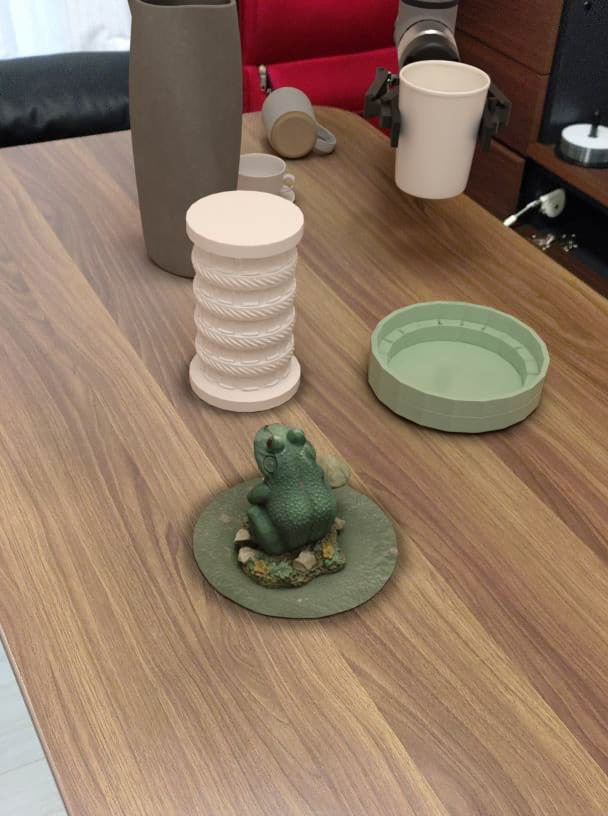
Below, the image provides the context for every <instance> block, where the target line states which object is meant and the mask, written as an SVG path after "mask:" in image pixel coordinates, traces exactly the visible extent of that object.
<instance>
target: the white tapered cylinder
mask: <svg viewBox="0 0 608 816" xmlns="http://www.w3.org/2000/svg"><path fill="white" fill-rule="evenodd" d="M486 73H487V72H485V71H483V70H482V69H480V68H478V67H476V66H473V65H470V64H467V63H463V62H461V63H458V62H452V61H442V60H429V61H420V62H415V63H411V64H409V65H406V66H405V67H403V68H402V69H401V71H400V73H399V102H398V107H399V111H400V121H401V124H400V133H399V142H398V148H395V164H394V181H395V185H396V186H397V187H398V188H399V189H400V190H401V191H402V192H404V193H406V194H408V195H411V196H413V197H416V198H420V199H425V200H426V199H427V200H447V199H452V198H454V197H457V196H459V195H461V194H462V193H463V192H464V191H465V189H466V187H467V185H468V180H469V177H470V172H471V168H472V163H473V159H474V155H475V151H476V146H477V141H478V138H479V137H478V133H479V128H480V124H481V119H482V115H483V110H484V106H485V101H486V97H487V93H488V89H489V86H490V78H489V76H488V75H487V74H488V73H487V74H486Z"/></svg>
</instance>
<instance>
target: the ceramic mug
mask: <svg viewBox="0 0 608 816" xmlns="http://www.w3.org/2000/svg"><path fill="white" fill-rule="evenodd" d="M260 114H261V115H260V117H261V122H262V125H263V128H264V130H265V134H266V135H267V139H268V142H269V144H270V146H271V147H272V148H273V150H274V151H275V152H276V153H278V154H279V155H280V156H282V157H284V158H287V159H297V158H301V157H304V156H305V155H307V154H308V153H309V152H311V151H312V149H315V150H317V151H319V152H322V153H326V154H328V153H329V154H330V153H331V152H333V150H334V148H335V146H336V145H337V139H336V137H335V136H334V134H333V133H331V132H330V131H329V130H328V129H327V128H325V126H322V125H321V124H320V123H318V122H317V119H316V117H315V112H314V109H313V105H312V103H311V101H310V99H309V97H308V96H307V95H306V93H304V92H303V91H302V90H300V89H298V88H296V87H292V86H285V87H280V88H276V89H275V90H273V91H272V92H270V93H269V95H267V97H265V100H264V102H263V104H262V107H261V112H260Z"/></svg>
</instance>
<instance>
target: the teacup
mask: <svg viewBox="0 0 608 816" xmlns="http://www.w3.org/2000/svg"><path fill="white" fill-rule="evenodd" d="M286 172H287V164H286V162H285V161H284V160H283V159H282V158H281V157H278V156H276V155H273V154H269V153H263V152H262V153H261V152H260V153H259V152H253V153H245V154H240V163H239V173H238V183H237V191H238V190H240V191H257V192H264V193H269V194H273V195H276V196H280V197H282V198H284V199H286V200H289V201H291V202H292V203H294V201H295V199H296V195H295V192H294V190H293V189H294V188H295V185H296V177H295V176H294V175H293V174H291V173H286ZM286 180H290V181H291V186H288V185H286V184H284V183H285V181H286Z"/></svg>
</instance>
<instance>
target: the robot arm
mask: <svg viewBox="0 0 608 816" xmlns="http://www.w3.org/2000/svg"><path fill="white" fill-rule="evenodd" d="M398 2H399V3H398V11H397V12H398V13H397V17H396V19H395V22H394V32H393V42H394V44H395V48H396V55H397V56H396V57H397V64H398V72H397V74H392V73H393V72H392V71H388V69H387V68H386V67H383V66H379V67H376V69H375V78H374V80H373V81H372V83H371V84H370V86H369V88H368V89H367V91H366V92H365V93H364V103H363V113H362V115H363V118H364V119H367V120H371V119H373V118H375V116H376V117H378V125H377V126H378V128H380V129H387V130H389V140H390V148H395V149H396V148H398V142H399V133H400V124H401V121H400V111H399V107H398V102H399V73H400V71H401V69H402V68H403V67H405V66H406V65H409V64H411V63H415V62H420V61H429V60H442V61H452V62H458V63H462V62H461V59H460V54H459V53H460V52H459V49H458V46H457V43H456V39H455V30H456V29H455V28H456V22H457V15H458V8H459V2H460V0H399V1H398ZM485 73H486V74H487V75H488V76H489V78H490V86H489V89H488V93H487V97H486V101H485V106H484V110H483V115H482V119H481V124H480V128H479V133H478V137H477V138H478V140H479V144H480V149H481V152H482V153H486V154H487V153H489V154H490V150H491V145H492V138H493V136H496V135H497V134H498V128H499V127H504V128H505V127H507V126H508V125H509V120H510V115H511V109H512V101H510V99H508V97H507V95H505V94H504V93H503V92H502V91H501V89H499V88H498V86H497V85H495V84H494V82H492V79H491V78H492V77H491V76H492V75H491V74H490V73H487V72H485ZM393 87H394V88H393Z"/></svg>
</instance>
